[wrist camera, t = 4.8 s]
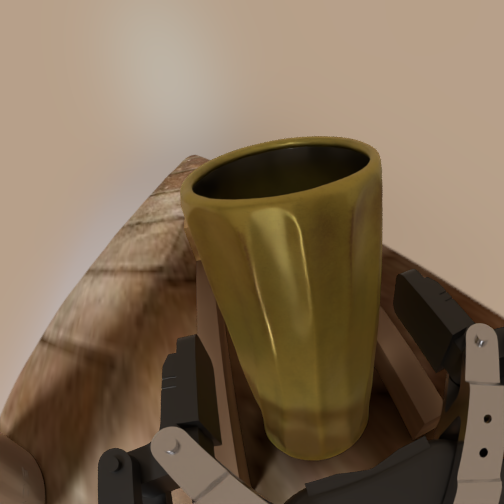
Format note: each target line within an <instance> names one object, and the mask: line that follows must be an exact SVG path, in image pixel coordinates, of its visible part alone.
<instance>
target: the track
mask: <svg viewBox="0 0 504 504" xmlns="http://www.w3.org/2000/svg"><path fill="white" fill-rule="evenodd" d="M184 230H185V233H186V235H187V238H188V241H189V243H190V246H191V249H192V251H193V254H194V257H195V259H196V300H197V335H198V336H199V338H200V340H201V342H202V344H203V345H204V347H205V349H206V351H207V353H208V355H209V357H210V359H211V361H212V364H213V368H214V375H215V385H216V395H217V405H218V414H219V422H220V431H221V439H222V445H220V446H214V453H215V458H216V459H217V460H218V461H220V462H221V463H222V464H223V465H224V466H225V467H226V468H228V469H229V470H230V471H231V472H232V473H234V474H235V475H236V476H237V477H238V478H240V479H241V480H242V481H243V482H245V483H246V484H247V485H248V486H250V487H251V483H250V478H249V473H248V468H247V462H246V457H245V451H244V445H243V440H242V434H241V428H240V422H239V416H238V410H237V404H236V397H235V391H234V384H233V378H232V371H231V364H230V357H229V350H228V343H227V336H226V328H225V321H224V318H223V316H222V313H221V311H220V309H219V306H218V304H217V301H216V299H215V296H214V294H213V291H212V289H211V286H210V284H209V281H208V278H207V275H206V273H205V270H204V267H203V264H202V262H201V259H200V256H199V254H198V251H197V248H196V245H195V243H194V240H193V237H192V235H191V232H190V230H189V227H188V225H187V222H186V219H185V223H184ZM374 366H375V368H376V370H377V371H378V373H379V375H380V377H381V379H382V381H383V383H384V385H385V386H386V388H387V390H388V392H389V394H390V396H391V398H392V400H393V402H394V404H395V406H396V408H397V409H398V411H399V413H400V415H401V417H402V419H403V421H404V423H405V425H406V427H407V429H408V431H409V433H410V435H411V438H412V440H414V439H416V438H418V437H420V436H422V435H423V434H425V433H427V432H429V431H431V430H432V429H434V428H435V427H436V426H437V424H438V422H439V420H440V416H441V411H442V405H443V400H442V398H441V396H440V395H439V393H438V391H437V390H436V388H435V386H434V385H433V383H432V382H431V380H430V378H429V377H428V375H427V374H426V372H425V370H424V369H423V367H422V366H421V364H420V363H419V361H418V360H417V358H416V357H415V355H414V353H413V352H412V350H411V349H410V347H409V346H408V344H407V343H406V341H405V340H404V338H403V337H402V336H401V334H400V333H399V331H398V330H397V328H396V327H395V325H394V324H393V322H392V321H391V320H390V318H389V317H388V315H387V314H386V312H385V311H384V310H383V308H382V307H381V305H380V309H379V325H378V336H377V344H376V351H375V360H374Z"/></svg>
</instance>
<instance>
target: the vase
mask: <svg viewBox="0 0 504 504" xmlns="http://www.w3.org/2000/svg"><path fill="white" fill-rule="evenodd" d="M180 197H181V207H182V210H183V213H184V216H185V219H186V222H187V225H188V227H189V230H190V232H191V235H192V237H193V240H194V243H195V245H196V248H197V251H198V254H199V256H200V259H201V262H202V264H203V267H204V270H205V273H206V275H207V278H208V281H209V284H210V286H211V289H212V291H213V294H214V296H215V299H216V301H217V304H218V306H219V309H220V311H221V313H222V316H223V318H224V320H225V323H226V325H227V328H228V331H229V334H230V336H231V339H232V342H233V344H234V347H235V350H236V353H237V356H238V359H239V362H240V364H241V367H242V369H243V372H244V375H245V377H246V380H247V382H248V384H249V386H250V389H251V391H252V393H253V396H254V398H255V400H256V401H257V403H258V405H259V407H260V409H261V411H262V415H263V420H264V426H265V431H266V434H267V436H268V438H269V439H270V441H271V442H272V443H273V444H274V445H275V446H276V447H277V448H278V449H280V450H281V451H282V452H284V453H285V454H287V455H289V456H291V457H294V458H298V459H302V460H323V459H328V458H331V457H334V456H336V455H338V454H340V453H342V452H344V451H346V450H347V449H349V448H350V447H351V446H352V445H353V444H354V443H355V442H356V441H357V440H358V439H359V438H360V436H361V435H362V433H363V431H364V429H365V427H366V425H367V422H368V418H369V402H370V395H371V389H372V382H373V370H374V360H375V351H376V344H377V336H378V325H379V309H380V292H381V273H382V167H381V159H380V156H379V153H378V152H377V150H376V149H375V148H373V147H371V146H370V145H368V144H366V143H363V142H361V141H358V140H354V139H349V138H342V137H327V136H314V137H313V136H312V137H296V138H286V139H280V140H275V141H269V142H264V143H260V144H256V145H252V146H248V147H244V148H241V149H238V150H235V151H232V152H229V153H226V154H224V155H221V156H219V157H217V158H215V159H212V160H210V161H208V162H206V163H205V164H203V165H201V166H200V167H198V168H197V169H196V170H194V171H193V172H192V173H190V174H189V175H188V177H187V178H186V179H185V180H184V182H183V183H182V186H181V190H180Z"/></svg>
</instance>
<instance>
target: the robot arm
mask: <svg viewBox="0 0 504 504" xmlns="http://www.w3.org/2000/svg"><path fill="white" fill-rule="evenodd" d="M393 305H394V310H395V313H396V315H397V316H398V318H399V319H400V321H401V322H402V323H403V325H404V326H405V328H406V329H407V331H408V332H409V333H410V335H411V336H412V338H413V339H414V341H415V342H416V343H417V345H418V346H419V348H420V349H421V351H422V352H423V354H424V355H425V357H426V358H427V360H428V361H429V363H430V364H431V366H432V367H433V369H434V370H435V372H436V373H437V372H439V371H441V370H443V369H444V368H445V369H446V371H447V375H446V381H445V390H444V398H443V405H442V411H441V416H440V420H439V422H438V424H437V427H436V430H435V433H434V437H433V440H428V441H427V439H426V437H425V436H423V437H422V438H420V439H418V440H416V441H414V442H412V443H410V444H408V445H406V446H404V447H402V448H400V449H398V450H397V451H396V452H394V453H393V454H392V455H390V456H389V457H388V458H386V459H385V460H384V461H382V462H381V463H380V464H378V465H377V466H375V467H374V468H372V469H370V470H364V471H358V472H350V473H342V474H336V475H333V476H329V477H326V478H323V479H320V480H316V481H313V482H309V483H306V484H305V486H306V488H305V489H303V490H301V491H299V492H298V493H296V494H295V495H293V496H292V497H291V498H289V499H288V500H287V501H286V502H285V503H284V504H504V459H503V452H504V327H501V328H497V329H492V328H491V327H490V326H488V325H486V324H482V323H477V324H475V323H474V322H473V321H472V319H471V318H470V317H469V316H468V315H467V314H466V313H465V311H464V310H463V309H462V308H461V307H460V306H459V305H458V304H457V302H456V301H455V300H454V299H452V297H451V296H450V295H449V294H448V293H446V290H445V289H444V288H443V287H442V286H441V285H440V284H439V283H438V282H436V281H434V280H432V279H430V278H429V277H426V278H424V277H423V276H422V275H421V274H420V273H419V272H418V271H417V270H416V269H412V270H409V271H406V272H404V273H401V274H398V275H397V278H396V285H395V294H394V302H393ZM162 379H163V380H162V390H161V424H160V430H159V431H158V432H157V433H156V434H155V436H154V437H153V439H152V441H151V442H150V443H149V444H147V445H145V446H143V447H140V448H137V449H135V450H132V451H130V452H125V451H124V450H122V449H119V448H112V449H109V450H107V451H106V452H104V453H103V454H102V456H101V457H100V460H99V463H98V504H173V503H172V495H171V491H173V490H175V489H178V488H182V489H183V491H184V492H185V493H186V494H187V495H188V496H189V497H190V498H191V499H192V501H193V502H192V503H193V504H273V503H272V502H270V501H269V500H267V499H266V498H265V497H263V496H262V495H261V494H259V493H258V492H256V491H255V490H254V489H252V488H251V487H250V486H248V485H247V484H246V483H245V482H243V481H242V480H241V479H240V478H238V477H237V476H236V475H235V474H234V473H232V472H231V471H230V470H229V469H228V468H226V467H225V466H224V465H223V464H222V463H221V462H220V461H218V460H217V459H216V458H215V453H214V446H220V445H222V439H221V431H220V422H219V414H218V405H217V395H216V385H215V375H214V368H213V364H212V361H211V359H210V357H209V355H208V353H207V351H206V349H205V347H204V345H203V344H202V342H201V340H200V338H199V336H198V335H197V334H195V335H191V336H187V337H182V338H178V339H177V350H176V353H173V354H169V355H168V356H167V358H166V360H165V362H164V364H163V369H162ZM0 504H45V487H44V481H43V477H42V474H41V470H40V468H39V466H38V464H37V462H36V461H35V459H34V458H33V456H32V455H31V454H30V453H29V452H28V451H26V450H25V449H23V448H22V447H21V446H19V445H18V444H16V443H15V442H13V441H12V440H11V439H9V438H8V437H6V436H5V435H4V434H2V433H1V432H0Z"/></svg>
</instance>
